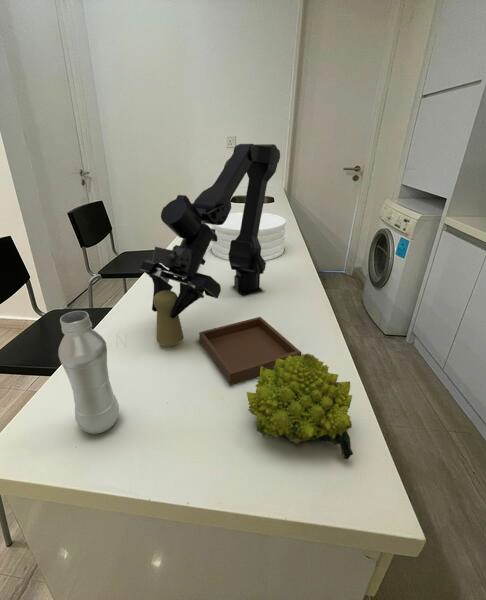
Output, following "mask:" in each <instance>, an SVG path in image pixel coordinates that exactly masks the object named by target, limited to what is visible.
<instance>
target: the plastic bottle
mask: <svg viewBox="0 0 486 600" xmlns="http://www.w3.org/2000/svg"><path fill="white" fill-rule="evenodd" d="M59 322H60V326H61V329H60V330H61V333H62V334H63V335H64V336H63V337H62V339H61V341H60V344H59V346H58V353H57V357H58V359H59V361H60V363H61V366H62V367H63V369H64V371H65V374H66V376H67V378H68V381H69V384H70V387H71V390H72V394H73V395H72V396H73V401H74V402H73V403H74V417H75V422H76V423H77V426H78V427H79V428H80V429H81V430H82V431H83V432H85V433H87V434H95V435H97V434H101V433H104V432H106V431H108V430H110V429H111V428H112V427H113V426H114V425H115V424H116V422H117V421H118V419H119V416H120V405H119V402H118V400H117V397H116V395H115V394H114V391H113V388H112V385H111V381H110V376H109V369H108V347H107V342H106V340H105V338H104V337H103V336H102V335H101V334H100V333H98V331H96V330H94V329H93V328H92V327H93V323H92V321H91V319H90V314H89V313H88V312H87V311H84V310H74V311H70V312H67V313H65V314H63V315H62V316H61V317H60V318H59Z"/></svg>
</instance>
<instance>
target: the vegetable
mask: <svg viewBox="0 0 486 600" xmlns="http://www.w3.org/2000/svg"><path fill="white" fill-rule="evenodd" d="M324 363H325V361H320V360H319V358H317V357H316V356H314V355H313V354H311V353H301V356H297V355H296V356H294V355H293V357H292V356H290V355H289V356H288V357H287V358H285V361H284V360H282V359H278V358H276V362H275V366H274V370H269V369H265V368H264V367H262V366H261V368H260V376H258V377H257V379H258V380H257V381H256V384H255V385H254V386H255V387H256V390H255V392H250V391H246V397H247V402H248V405H249V407H248V409H247V411H249V412H250V413H251V414H252V415H253V416H254V417H255V423H256V432H258V433H260V434H261V435H262V436H263V437H264V436H268V435H271V436H272V437H275V438H276V439H278V438H279V436H280V437H284V438H287V439H288V441H289V442H294V443H295V444H300V443H301V442H302V441H303V442H304V441H308V440H309V441H311V440H313V441H317V443H322V442H326V443H329V444H331V445H336V446H338V445H339V447H340V451H341V455H342V458H343V460H344V461H345V460H346V461H349V459H350V457H351V456H353V455H354V452H353V450H352V444H351V443H352V442H351V437H350V435H349V432H348V430H349V429H350V428H351V429H352V427H353V423H352V420H351V416H350V415H349V414H348V412H349V409H350V408H351V402H352V399H353V394H349V393H350V391H351V381H340V382H339V381H338V378H339V374H337V373H331V372H329V366H328V364H325V365H324Z"/></svg>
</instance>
